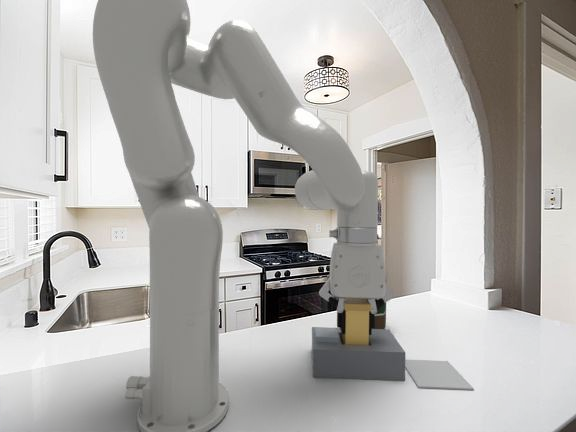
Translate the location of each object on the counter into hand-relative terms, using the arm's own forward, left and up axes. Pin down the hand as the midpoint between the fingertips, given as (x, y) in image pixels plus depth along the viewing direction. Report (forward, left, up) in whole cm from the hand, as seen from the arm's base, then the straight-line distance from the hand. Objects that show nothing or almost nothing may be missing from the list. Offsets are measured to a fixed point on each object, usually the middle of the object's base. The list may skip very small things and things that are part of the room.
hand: (355, 330), depth 57 cm
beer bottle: (+7, +18, -7) cm, 20 cm away
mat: (+14, -2, -7) cm, 15 cm away
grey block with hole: (0, 0, -7) cm, 7 cm away
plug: (0, 0, -6) cm, 6 cm away
